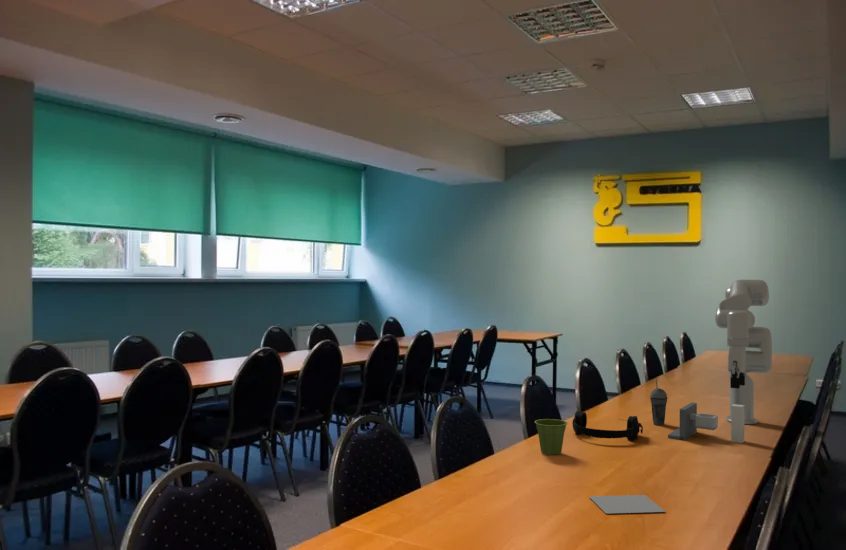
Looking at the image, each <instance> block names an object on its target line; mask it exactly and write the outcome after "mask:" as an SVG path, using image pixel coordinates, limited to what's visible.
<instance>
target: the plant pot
mask: <svg viewBox="0 0 846 550" xmlns="http://www.w3.org/2000/svg"><path fill="white" fill-rule="evenodd" d="M568 423H569V422H568V421H566V420H561V419H555V418H552V419H551V418H543V419H537V420H535V421H534V424H535V426H536V430H537V433H538V442H539V446H540V453H541V454H543V455H547V456H553V455H555V456H558V455H560V454H562V452H563V444H564V443H563V442H564V438H565V431H566V429H567V425H568Z"/></svg>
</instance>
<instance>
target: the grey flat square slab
mask: <svg viewBox="0 0 846 550" xmlns="http://www.w3.org/2000/svg"><path fill="white" fill-rule="evenodd" d="M588 497H589V498H590V499H591V500H592V501H593V503H594V504H595V505H597V506H598V507H599V508H600V509H601V510H602V511H603V512H604V513H605V514H633V513H634V514H636V513H637V514H639V513H641V514H642V513H665V512H666V510H665V509H663V508H662V507H661V506H659V505H658V504H657V503H655V502H654V501H653V500H652V499H650V498H649V497H648V496H647V495H646V494H631V495H630V494H628V495H627V494H626V495H599V496H598V495H591V496H588Z"/></svg>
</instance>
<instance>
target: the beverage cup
mask: <svg viewBox="0 0 846 550" xmlns="http://www.w3.org/2000/svg"><path fill="white" fill-rule="evenodd" d="M657 380H658V379H657V378H655V386H656V388H654V389H653V390H651V393H650V395H649V396H650V397H649V399H650V404H651V413H652V415H651V417H652V425H655V426H664V425H665V420H666V413H667V412H666V410H667V403H668V399H669V398H668V395H667V394H668V393H667V392H666V391H665V390H664V389H663V388H659V387H658V381H657Z"/></svg>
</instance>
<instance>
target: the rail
mask: <svg viewBox="0 0 846 550" xmlns="http://www.w3.org/2000/svg"><path fill="white" fill-rule="evenodd" d="M730 427H731V428H730V442H732V443H738V444H743V443H744V442H745V424H744V405H737V404H733V405H731V422H730Z"/></svg>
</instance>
